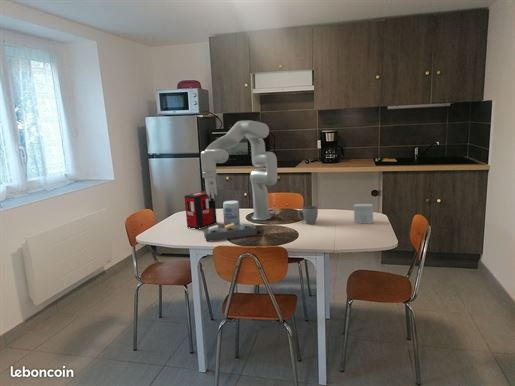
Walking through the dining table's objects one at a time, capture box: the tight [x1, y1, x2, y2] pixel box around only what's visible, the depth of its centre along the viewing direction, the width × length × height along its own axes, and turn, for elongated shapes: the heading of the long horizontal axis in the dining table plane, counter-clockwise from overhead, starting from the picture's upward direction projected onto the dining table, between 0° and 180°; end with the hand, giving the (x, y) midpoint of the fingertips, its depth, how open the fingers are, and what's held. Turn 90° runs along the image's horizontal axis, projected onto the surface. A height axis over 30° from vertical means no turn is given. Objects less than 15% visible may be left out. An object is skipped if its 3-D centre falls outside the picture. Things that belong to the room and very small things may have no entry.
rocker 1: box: [207, 224, 220, 231], centre depth 210 cm, size 5×4×1 cm
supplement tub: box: [222, 200, 241, 227], centre depth 232 cm, size 10×10×15 cm
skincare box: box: [353, 203, 374, 225], centre depth 225 cm, size 10×6×10 cm, turn 76°
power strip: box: [203, 223, 265, 242], centre depth 213 cm, size 33×8×5 cm, turn 105°
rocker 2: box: [240, 221, 252, 226], centre depth 214 cm, size 5×4×1 cm
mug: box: [297, 205, 319, 226], centre depth 229 cm, size 12×9×10 cm
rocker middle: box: [224, 223, 235, 229], centre depth 212 cm, size 5×4×1 cm
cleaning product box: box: [184, 190, 218, 230], centre depth 236 cm, size 16×9×20 cm, turn 143°
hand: (212, 207), depth 207 cm, fingers closed
